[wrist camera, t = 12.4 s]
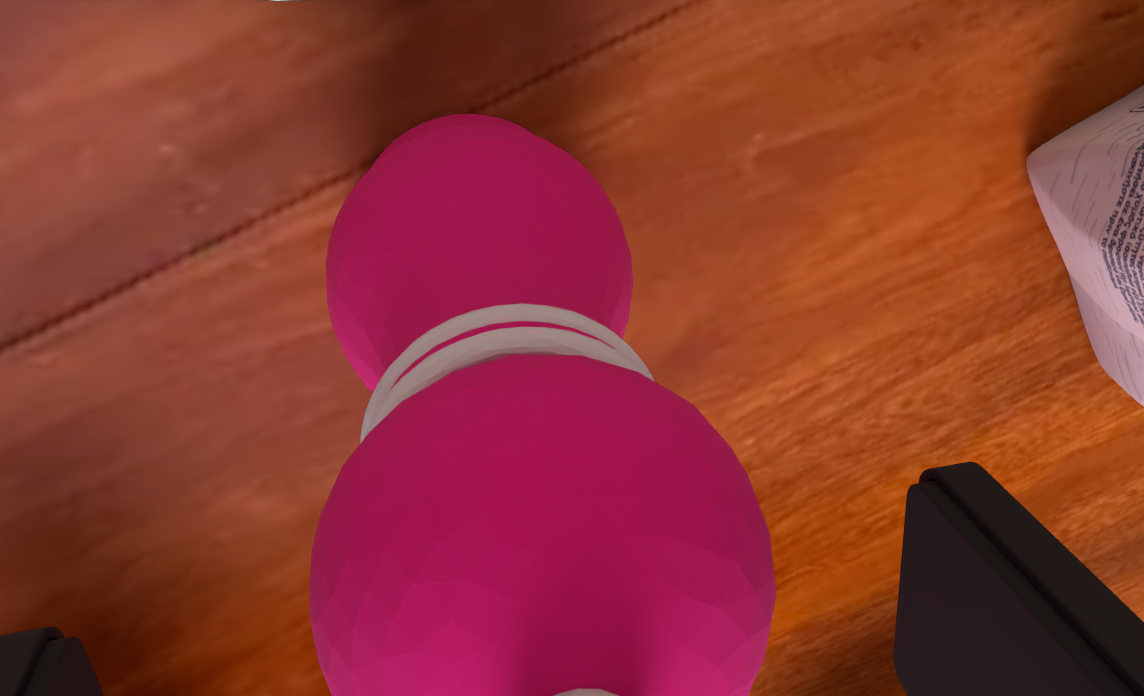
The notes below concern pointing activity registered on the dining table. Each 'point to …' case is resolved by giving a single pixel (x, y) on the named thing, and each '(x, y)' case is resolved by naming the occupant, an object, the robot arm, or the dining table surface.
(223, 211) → the dining table surface
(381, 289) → the pepper mill
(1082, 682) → the robot arm
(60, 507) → the dining table surface
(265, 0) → the lid
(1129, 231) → the juice carton
